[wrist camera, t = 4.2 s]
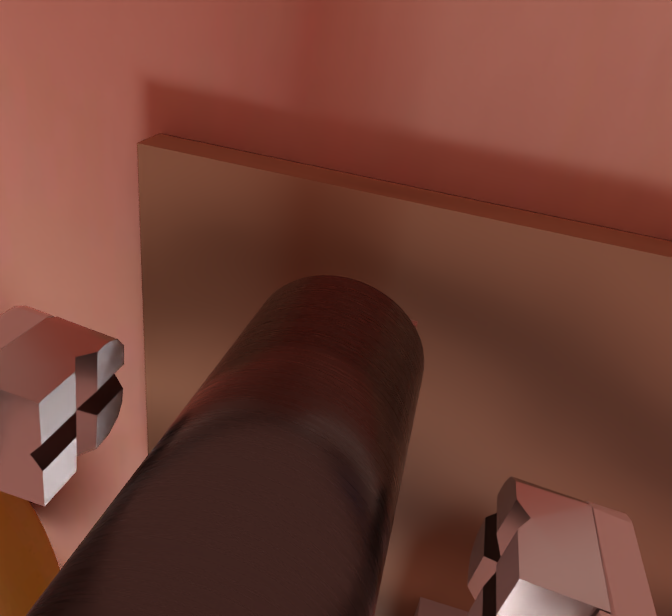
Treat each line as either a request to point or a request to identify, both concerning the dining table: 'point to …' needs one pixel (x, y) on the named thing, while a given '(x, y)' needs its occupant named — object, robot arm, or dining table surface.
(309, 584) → the lever
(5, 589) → the banana
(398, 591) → the base
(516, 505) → the robot arm
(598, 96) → the dining table surface
